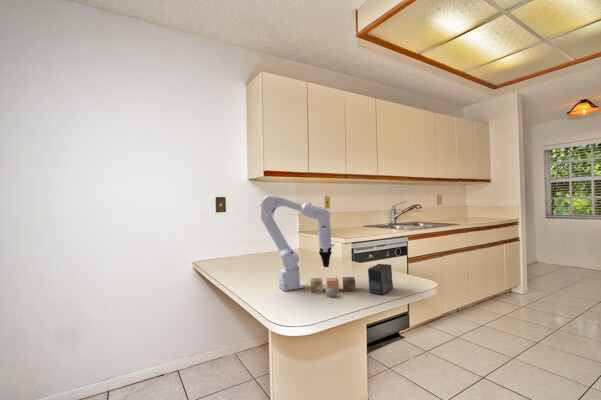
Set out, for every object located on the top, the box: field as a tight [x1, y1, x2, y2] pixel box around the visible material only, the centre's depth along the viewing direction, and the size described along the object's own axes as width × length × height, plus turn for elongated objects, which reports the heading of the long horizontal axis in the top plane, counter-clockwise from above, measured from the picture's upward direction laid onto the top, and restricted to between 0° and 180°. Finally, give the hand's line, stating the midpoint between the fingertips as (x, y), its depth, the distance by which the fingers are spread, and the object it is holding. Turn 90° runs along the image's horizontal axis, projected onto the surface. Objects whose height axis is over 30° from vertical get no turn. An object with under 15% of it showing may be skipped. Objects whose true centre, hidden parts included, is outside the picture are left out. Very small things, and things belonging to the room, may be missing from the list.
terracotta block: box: [326, 277, 340, 293], centre depth 129 cm, size 5×5×5 cm
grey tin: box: [325, 287, 337, 299], centre depth 122 cm, size 4×4×3 cm
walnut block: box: [342, 276, 357, 293], centre depth 129 cm, size 5×5×5 cm
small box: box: [367, 263, 394, 296], centre depth 125 cm, size 11×6×10 cm, turn 141°
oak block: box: [309, 277, 324, 293], centre depth 130 cm, size 5×5×5 cm
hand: (326, 265), depth 135 cm, fingers open, 7 cm apart
